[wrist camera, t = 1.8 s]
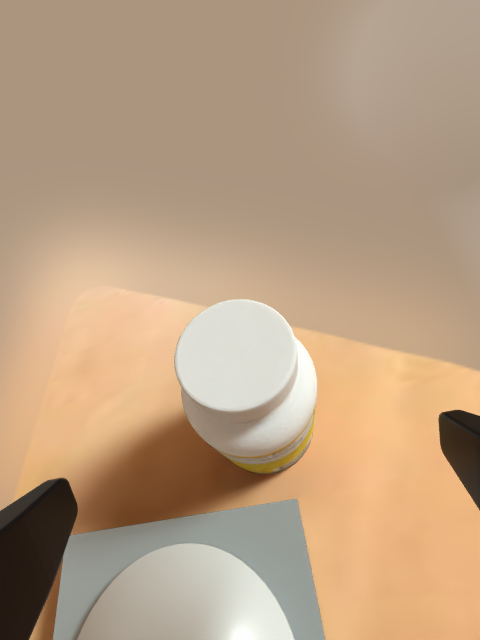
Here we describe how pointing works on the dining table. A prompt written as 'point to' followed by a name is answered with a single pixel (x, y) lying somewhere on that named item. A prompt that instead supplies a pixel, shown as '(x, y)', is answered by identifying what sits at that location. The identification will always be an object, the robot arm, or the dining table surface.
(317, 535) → the dining table surface
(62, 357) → the dining table surface
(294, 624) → the scale
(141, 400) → the dining table surface
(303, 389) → the supplement bottle
